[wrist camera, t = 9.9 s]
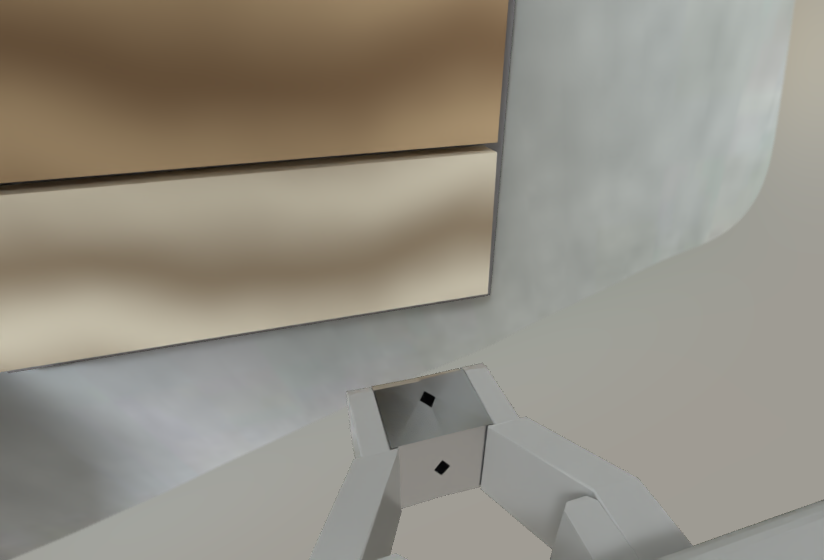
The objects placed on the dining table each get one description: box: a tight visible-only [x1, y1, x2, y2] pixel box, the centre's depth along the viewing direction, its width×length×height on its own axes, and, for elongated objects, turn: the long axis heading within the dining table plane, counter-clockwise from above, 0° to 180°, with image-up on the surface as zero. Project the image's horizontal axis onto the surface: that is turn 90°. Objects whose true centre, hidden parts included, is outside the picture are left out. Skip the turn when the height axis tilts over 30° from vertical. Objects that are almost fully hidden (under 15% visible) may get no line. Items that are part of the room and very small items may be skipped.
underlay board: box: [0, 0, 515, 373], centre depth 19 cm, size 16×23×1 cm
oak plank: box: [0, 0, 509, 183], centre depth 16 cm, size 7×21×2 cm, turn 91°
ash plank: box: [0, 145, 497, 372], centre depth 19 cm, size 7×21×2 cm, turn 91°
